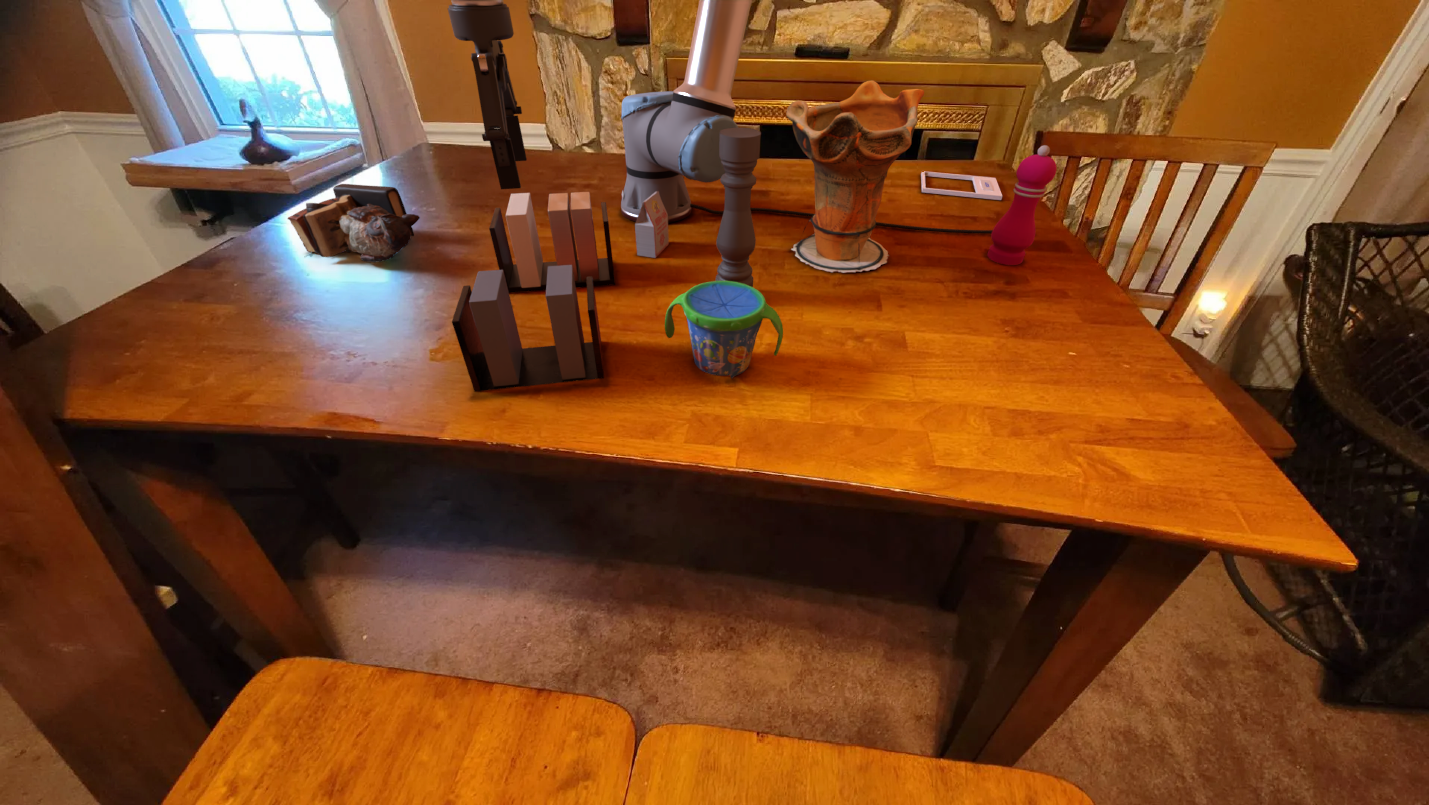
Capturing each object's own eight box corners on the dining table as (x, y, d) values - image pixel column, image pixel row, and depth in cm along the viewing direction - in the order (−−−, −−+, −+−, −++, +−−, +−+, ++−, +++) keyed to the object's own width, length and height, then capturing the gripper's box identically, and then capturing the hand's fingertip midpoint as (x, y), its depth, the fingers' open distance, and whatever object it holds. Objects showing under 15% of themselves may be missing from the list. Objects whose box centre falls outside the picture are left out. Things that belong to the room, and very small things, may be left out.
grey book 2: (584, 344, 78) (572, 264, 70) (585, 377, 71) (572, 293, 64) (562, 346, 77) (547, 266, 70) (562, 379, 71) (545, 295, 63)
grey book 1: (522, 350, 76) (503, 269, 69) (518, 384, 70) (496, 299, 63) (500, 352, 76) (477, 271, 68) (493, 387, 70) (468, 302, 62)
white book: (543, 261, 99) (529, 192, 91) (540, 286, 91) (526, 214, 83) (525, 262, 98) (510, 193, 91) (521, 287, 90) (505, 215, 83)
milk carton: (637, 255, 103) (633, 201, 97) (651, 241, 108) (648, 189, 102) (655, 257, 103) (652, 203, 96) (668, 244, 108) (666, 191, 101)
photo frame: (1002, 195, 129) (922, 187, 133) (1001, 200, 130) (921, 192, 134) (995, 177, 140) (922, 170, 144) (994, 181, 141) (921, 174, 145)
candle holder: (726, 308, 88) (731, 140, 72) (708, 292, 92) (709, 129, 77) (759, 300, 90) (771, 135, 75) (740, 284, 95) (748, 125, 79)
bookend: (341, 182, 106) (443, 183, 98) (365, 238, 112) (463, 243, 104) (268, 204, 95) (377, 208, 87) (300, 265, 101) (404, 273, 93)
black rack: (612, 262, 101) (604, 189, 93) (615, 284, 94) (607, 208, 86) (509, 269, 98) (492, 195, 90) (505, 293, 91) (485, 215, 83)
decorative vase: (755, 256, 104) (766, 86, 86) (824, 223, 117) (846, 71, 100) (851, 292, 93) (885, 107, 75) (915, 252, 106) (957, 86, 89)
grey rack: (602, 346, 79) (592, 275, 72) (604, 384, 72) (594, 309, 65) (484, 358, 76) (463, 285, 69) (476, 397, 70) (451, 321, 63)
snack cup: (787, 357, 78) (795, 291, 71) (765, 400, 70) (771, 331, 63) (685, 334, 82) (684, 270, 75) (654, 373, 74) (649, 305, 68)
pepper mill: (1025, 254, 106) (1069, 143, 94) (1024, 269, 101) (1070, 153, 88) (985, 248, 108) (1022, 137, 96) (982, 262, 103) (1021, 147, 91)
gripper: (461, -4, 80) (497, 151, 93) (427, 10, 61) (478, 203, 74) (515, -5, 81) (543, 149, 94) (498, 9, 62) (536, 199, 75)
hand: (514, 173), depth 84 cm, fingers open, 13 cm apart
